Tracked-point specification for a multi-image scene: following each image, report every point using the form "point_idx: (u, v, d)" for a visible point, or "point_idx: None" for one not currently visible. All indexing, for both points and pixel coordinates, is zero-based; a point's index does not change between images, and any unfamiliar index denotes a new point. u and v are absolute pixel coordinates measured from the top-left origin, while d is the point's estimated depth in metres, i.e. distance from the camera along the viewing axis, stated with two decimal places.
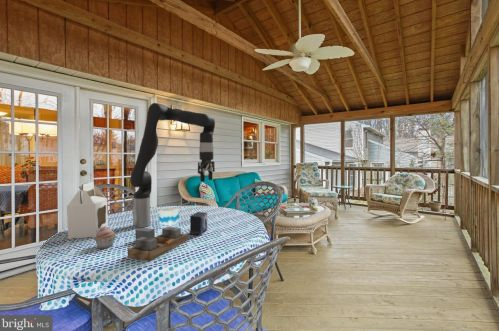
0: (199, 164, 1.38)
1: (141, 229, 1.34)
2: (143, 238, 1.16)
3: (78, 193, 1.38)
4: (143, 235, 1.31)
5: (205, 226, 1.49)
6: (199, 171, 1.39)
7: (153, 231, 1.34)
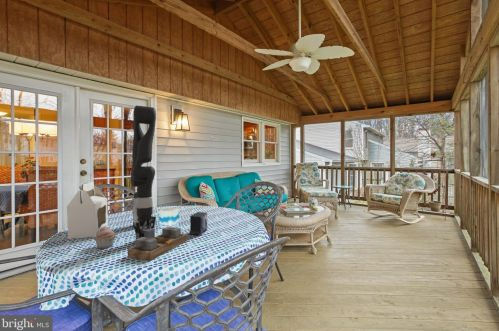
0: (134, 225, 1.27)
1: (141, 229, 1.34)
2: (143, 238, 1.16)
3: (78, 193, 1.38)
4: None
5: (205, 226, 1.49)
6: (137, 231, 1.29)
7: (153, 231, 1.34)
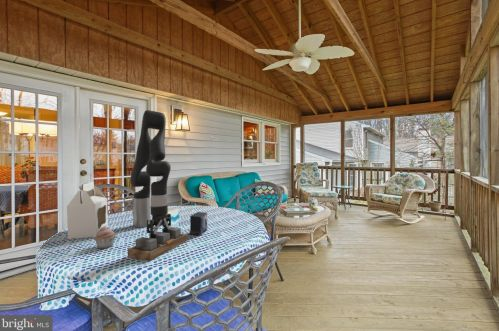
0: (148, 222, 1.16)
1: (155, 233, 1.23)
2: (143, 238, 1.16)
3: (78, 193, 1.38)
4: (158, 240, 1.21)
5: (205, 226, 1.49)
6: (148, 231, 1.17)
7: (168, 235, 1.23)
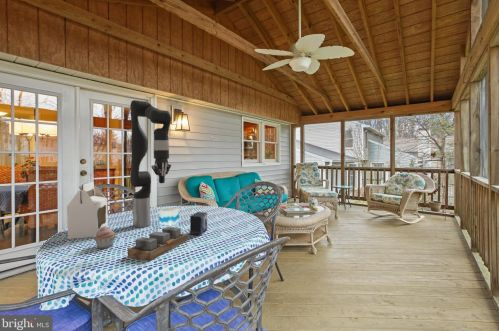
0: (153, 168, 1.31)
1: (155, 233, 1.23)
2: (143, 238, 1.16)
3: (78, 193, 1.38)
4: (158, 240, 1.21)
5: (205, 226, 1.49)
6: None
7: (168, 235, 1.23)
